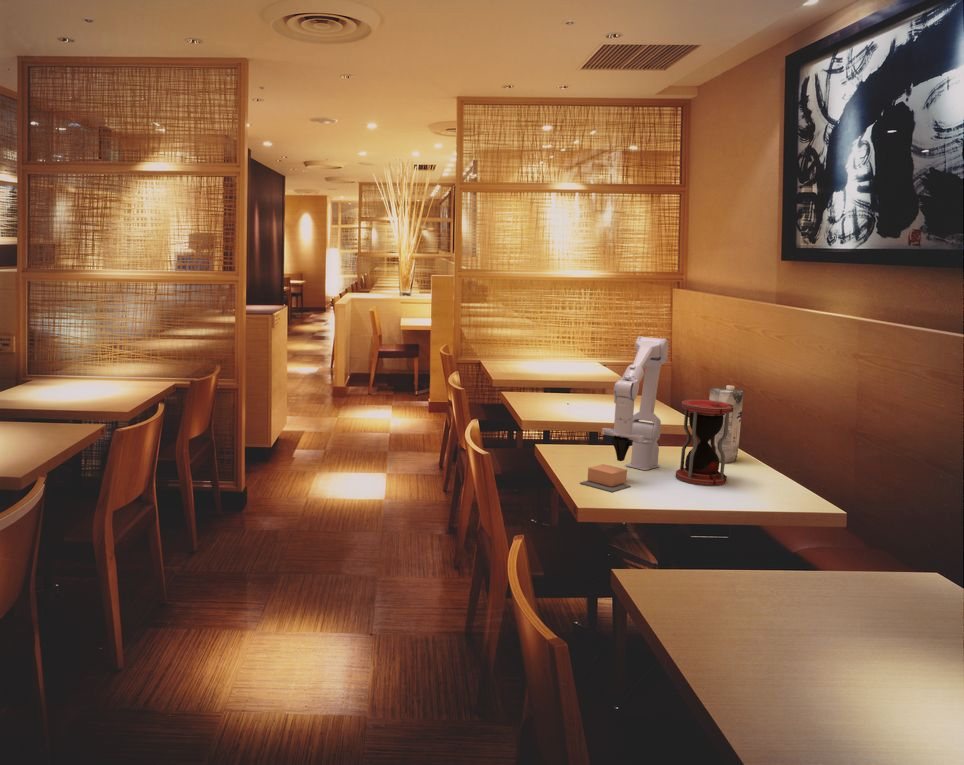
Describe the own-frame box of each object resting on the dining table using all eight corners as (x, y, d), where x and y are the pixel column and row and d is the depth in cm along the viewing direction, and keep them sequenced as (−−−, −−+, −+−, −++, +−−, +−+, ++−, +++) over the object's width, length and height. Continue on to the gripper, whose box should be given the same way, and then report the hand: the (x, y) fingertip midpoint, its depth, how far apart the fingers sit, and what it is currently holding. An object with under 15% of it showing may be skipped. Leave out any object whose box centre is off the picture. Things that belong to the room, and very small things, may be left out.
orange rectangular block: (603, 464, 268) (588, 467, 262) (627, 469, 262) (612, 473, 256) (602, 477, 269) (587, 481, 263) (626, 483, 263) (611, 487, 257)
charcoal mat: (598, 478, 268) (598, 477, 268) (630, 486, 260) (630, 485, 260) (579, 483, 261) (579, 482, 261) (612, 492, 253) (612, 491, 253)
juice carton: (725, 464, 296) (732, 388, 292) (700, 458, 304) (707, 384, 300) (740, 461, 301) (747, 387, 297) (715, 455, 309) (722, 382, 305)
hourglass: (710, 488, 263) (718, 410, 259) (665, 477, 274) (672, 401, 270) (735, 480, 274) (742, 405, 270) (691, 470, 285) (698, 397, 281)
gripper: (597, 415, 267) (594, 457, 269) (636, 423, 257) (633, 467, 259) (610, 413, 272) (607, 454, 274) (648, 421, 262) (645, 463, 264)
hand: (620, 460), depth 267 cm, fingers closed
